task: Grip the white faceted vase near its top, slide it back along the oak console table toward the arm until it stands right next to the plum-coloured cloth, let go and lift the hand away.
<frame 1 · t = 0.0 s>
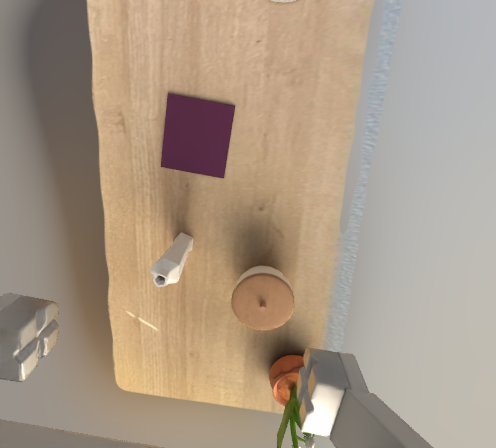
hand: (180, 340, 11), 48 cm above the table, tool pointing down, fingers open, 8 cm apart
trinket box: (262, 281, 64), on the table
potted flower: (297, 370, 70), on the table
white faceted vase: (183, 243, 62), on the table
cloth: (197, 137, 56), on the table
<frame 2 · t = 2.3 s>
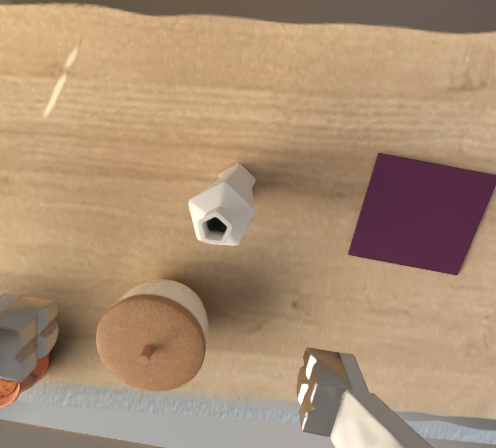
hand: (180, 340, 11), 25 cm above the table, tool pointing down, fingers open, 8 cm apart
trinket box: (171, 304, 39), on the table
potted flower: (19, 349, 43), on the table
white faceted vase: (235, 181, 34), on the table
cloth: (419, 216, 34), on the table
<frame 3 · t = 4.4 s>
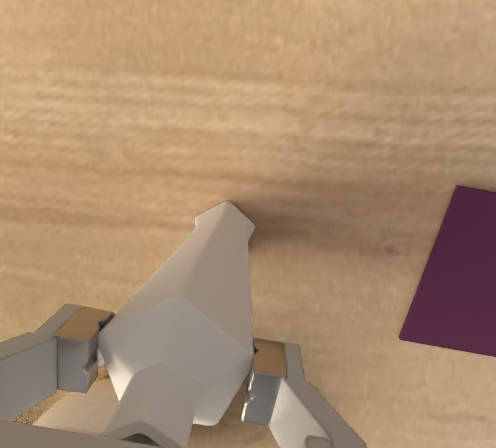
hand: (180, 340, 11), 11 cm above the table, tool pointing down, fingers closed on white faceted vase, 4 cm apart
trinket box: (129, 404, 26), on the table
white faceted vase: (221, 229, 21), on the table, touching gripper
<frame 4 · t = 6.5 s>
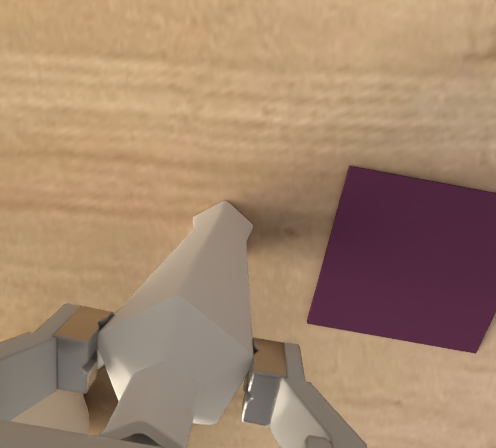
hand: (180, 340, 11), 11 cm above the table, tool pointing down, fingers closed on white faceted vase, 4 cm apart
trinket box: (47, 390, 26), on the table
white faceted vase: (219, 228, 21), on the table, touching gripper
cloth: (416, 265, 22), on the table
when the fingers open (11 cm above the table, at t = 8.6 s): white faceted vase stays where it is, on the table.
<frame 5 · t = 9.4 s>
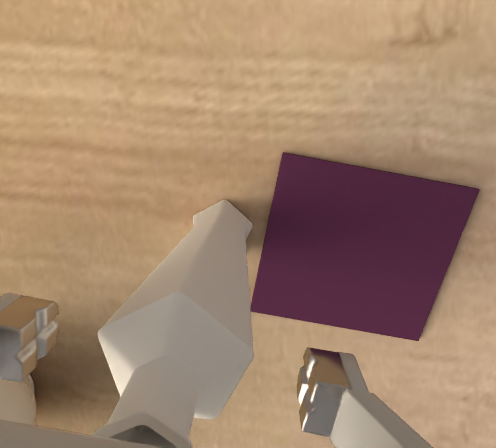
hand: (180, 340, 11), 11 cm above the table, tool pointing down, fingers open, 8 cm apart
white faceted vase: (219, 227, 22), on the table
cloth: (355, 253, 22), on the table
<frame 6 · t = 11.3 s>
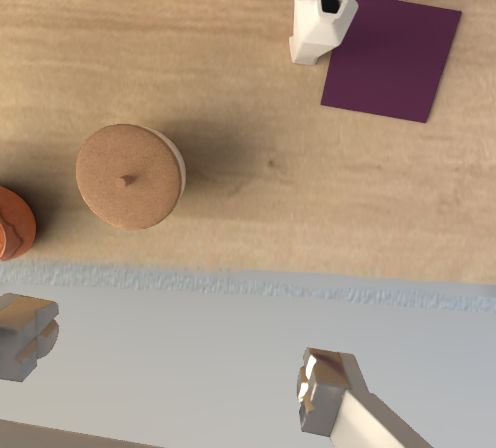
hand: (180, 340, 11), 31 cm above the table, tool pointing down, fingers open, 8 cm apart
trinket box: (152, 168, 41), on the table
potted flower: (7, 224, 44), on the table
white faceted vase: (304, 46, 36), on the table
cloth: (387, 60, 36), on the table
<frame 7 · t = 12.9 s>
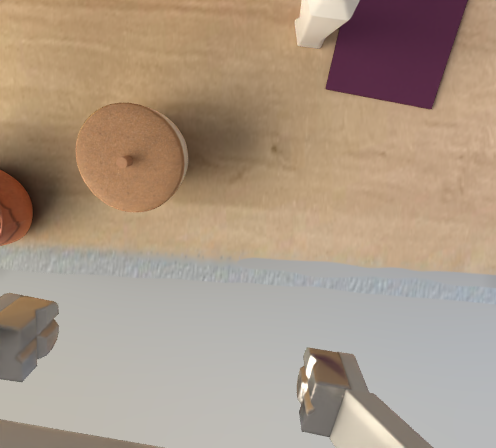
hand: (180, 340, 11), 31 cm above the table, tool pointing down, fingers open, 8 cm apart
trinket box: (153, 152, 40), on the table
potted flower: (3, 209, 43), on the table
white faceted vase: (309, 29, 35), on the table
cloth: (393, 45, 35), on the table
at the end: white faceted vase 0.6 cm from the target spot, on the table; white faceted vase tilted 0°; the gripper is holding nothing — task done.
